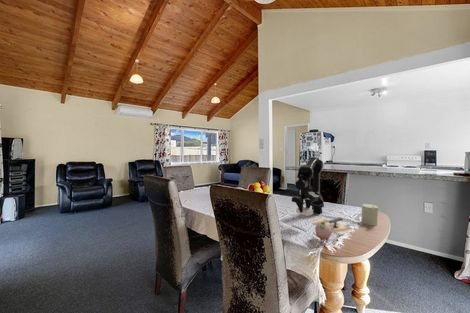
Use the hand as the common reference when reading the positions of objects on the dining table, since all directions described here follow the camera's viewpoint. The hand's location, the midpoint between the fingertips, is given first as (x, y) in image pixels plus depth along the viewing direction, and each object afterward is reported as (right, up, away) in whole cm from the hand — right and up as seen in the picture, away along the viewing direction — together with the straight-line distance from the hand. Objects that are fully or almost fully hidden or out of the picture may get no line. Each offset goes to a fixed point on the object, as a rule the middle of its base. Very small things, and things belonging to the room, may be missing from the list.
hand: (304, 211), depth 136 cm
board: (+16, -10, 0) cm, 19 cm away
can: (+46, -10, +9) cm, 48 cm away
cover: (0, -1, 0) cm, 1 cm away
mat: (0, -10, +1) cm, 10 cm away
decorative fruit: (+5, -12, -17) cm, 21 cm away
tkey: (+18, -9, -2) cm, 20 cm away
